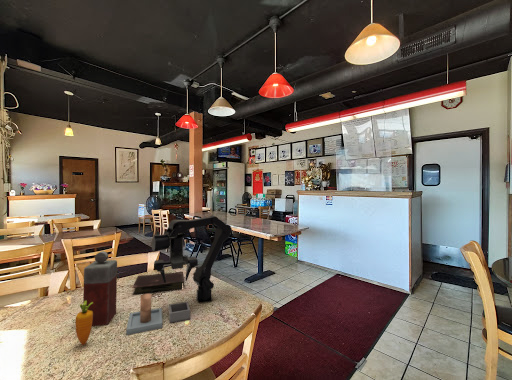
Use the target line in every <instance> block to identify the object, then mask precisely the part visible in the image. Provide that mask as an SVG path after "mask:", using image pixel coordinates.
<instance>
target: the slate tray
mask: <svg viewBox="0 0 512 380" xmlns="http://www.w3.org/2000/svg"><path fill="white" fill-rule="evenodd" d="M159 329H163V308H162V307H158V308H154V309H152V308H151V321H149V322H147V323H141V322H140V311H135V312H130V313H129V316H128V320H127V326H126V331H125V334H126V336H128V335H129V336H130V335H134V334H140V333H144V332H150V331H154V330H159Z"/></svg>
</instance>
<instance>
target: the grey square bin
mask: <svg viewBox="0 0 512 380" xmlns="http://www.w3.org/2000/svg"><path fill="white" fill-rule="evenodd" d="M168 320H169V324H173V323H180V322H184V321H189V320H191V309H190V305H189V301H182V302H178V303H177V302H176V303H171V304H168Z"/></svg>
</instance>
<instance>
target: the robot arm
mask: <svg viewBox="0 0 512 380" xmlns="http://www.w3.org/2000/svg"><path fill="white" fill-rule="evenodd" d="M210 225H211V226H212V227H213V228H214V229H215V231H214V240H212V241H213V242H212V243H211V245H210V248H209V250H208V252H207V255H206V256H205V258H204V261H203V263H202V265H200V266H198V265H199V261H198V258H197V257H196V256H190V257H189V256H188V255H184V239H186V238H188V237H189V236H188V234H186V232H187V231H189V230H192V229H197V228H201V227H206V226H210ZM232 232H233V229H232V226H231V224H227V223H225V222H224V221H223V220H221V219H220V218H219V217H217V216H215V215H209V216H204V217H200V218H192V219H173V220H171V221H170V223H169V224H168V227H167V228H166V230H165V231H164V233H163V234H153V235H152V240H151V245H150V246H151V249H152V252H156V251H157V252H159V251H164V250H168V249H169V261H164V259H158V260H154V262H153V270H154V271H156V272H159V274H161V275H162V277H163V280H164V283H166V279H165V273H166V272H165V267H170V268H171V270H179V269H180V270H181V269H184V266H186V269H185V281H188V279H189V276H190V273H191V271H192V270H193V269H195V271H194V272H193V273H192V275H193V276H192V280H193V281H194V283H195V284H196V286H197V289H196V300H197V301H198V303H199V304H201V303H207V302H211V301H213V298H212V290H213V289H214V287H215V283H213V282H212V281H211V277H212V268H213V266H214V264H215V261H216V260H217V257H218V255H219V253H220V250H221V248H222V246H223V243H224V242H225V241H226V240H227V239H228V238H229V237H230V236H231V234H232Z"/></svg>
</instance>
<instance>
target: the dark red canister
mask: <svg viewBox="0 0 512 380" xmlns="http://www.w3.org/2000/svg"><path fill="white" fill-rule="evenodd" d="M108 258H109V254H108V253H107V252H106V251H103V250H102V251H99V252H97V253H96V254H95V255H94V260H95V261H93V262H92V263H89V264H88V265H87V266H85V267H84V269H83V300H82V301H83V303H82V305H83V304H84V301H87V304H86V306H88V305H89V304H90V303H91V302H93V304H91V305H90V306H89V308H88V310H90V311H92V312H93V320H92V327H100V326H108V325H109V324H110V322H112V320H113V318H114V317H115V316H116V315H117V289H118V288H117V287H118V285H117V284H118V274H117V273H118V260H116V259H110V260H108Z"/></svg>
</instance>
